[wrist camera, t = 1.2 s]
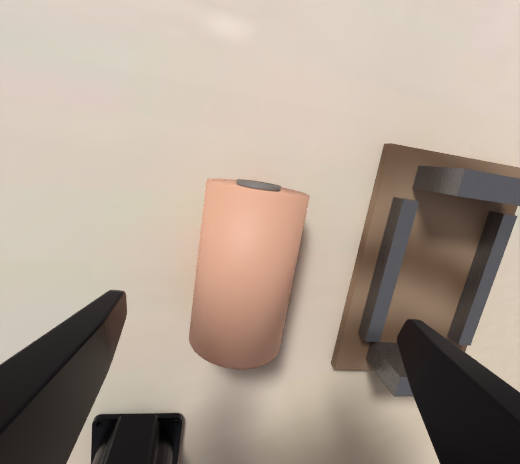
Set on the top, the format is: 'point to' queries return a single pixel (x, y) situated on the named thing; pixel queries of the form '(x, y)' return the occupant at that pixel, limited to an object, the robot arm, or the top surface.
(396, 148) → the roll cradle
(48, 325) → the top surface
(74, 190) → the top surface
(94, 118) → the top surface
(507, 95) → the top surface
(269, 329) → the roll
